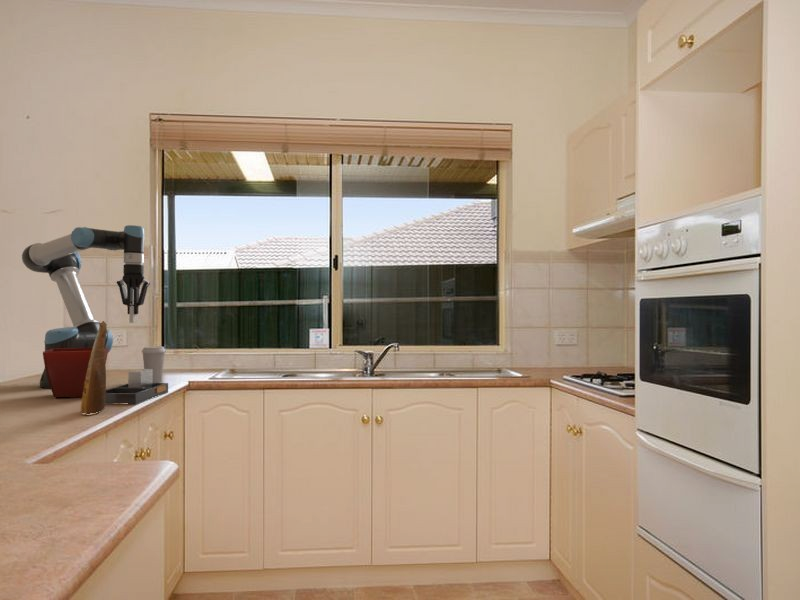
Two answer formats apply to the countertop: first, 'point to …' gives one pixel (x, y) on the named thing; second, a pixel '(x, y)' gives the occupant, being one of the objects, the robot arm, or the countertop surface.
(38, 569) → the countertop surface
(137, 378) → the plain grey rectangular box
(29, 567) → the countertop surface
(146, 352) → the coffee cup
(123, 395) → the tray
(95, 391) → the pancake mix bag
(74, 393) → the plant pot
